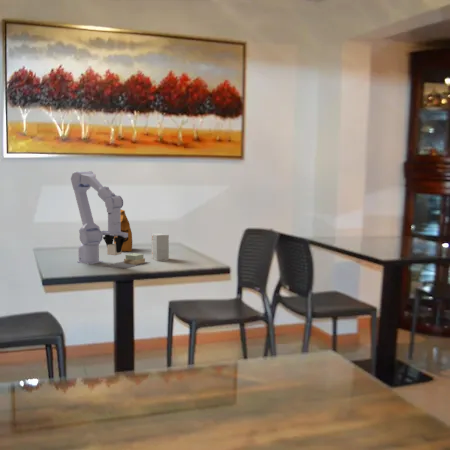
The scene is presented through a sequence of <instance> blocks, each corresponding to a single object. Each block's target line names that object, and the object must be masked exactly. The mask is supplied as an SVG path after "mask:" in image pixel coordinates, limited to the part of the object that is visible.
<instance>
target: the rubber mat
mask: <svg viewBox="0 0 450 450" xmlns="http://www.w3.org/2000/svg"><path fill="white" fill-rule="evenodd" d="M147 264H151V261H150V262H148V261H145V263H141V264H137V265H134V264H126V263H124V260H123V261H120V262H119V261H118V262H116V263H115V262H114V263H110V264H105V265H103V267H106V268H112V269H118V270H119V269H120V270H121V269H122V270H126V269H130V268H134V267H138V266H144V265H147Z"/></svg>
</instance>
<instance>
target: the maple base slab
mask: <svg viewBox="0 0 450 450" xmlns="http://www.w3.org/2000/svg"><path fill="white" fill-rule="evenodd" d="M123 261H124V263H126V264H134V265H137V264H141V263H145V262H146V258H145V257H143V259H139V260H129V259H126V258H124V259H123Z"/></svg>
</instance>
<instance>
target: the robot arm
mask: <svg viewBox="0 0 450 450" xmlns="http://www.w3.org/2000/svg"><path fill="white" fill-rule="evenodd" d="M70 181H71V184H72V188H73V189H72V190H73V191H74V196H75V199H76V200H75V201H76V204H77V207H78V212H79V215H80V219H81V223H82V225H81V227H80V228H79V229H78V232H79V242H80V243H81V244H80V245H79V246H78V261H77V263H80V264H81V263H82V264H90V265H93V264H98V263H102V262H104V261H103V260H100V244H101V242H102V241H104V243H105V244H106V246H107V245H109V244H114V239H115V242H116V251H117V253H119V252H121V253H122V251H121V249H122V245H123V243H124V241H125V239H126V237H128V233H124V232H121V210H122V208H123V206H124V199H123V197H122V195H116V194H115V193H114V192H113V191H112V190H111V189H110V188H109V186H103V184H102V183H100V181H99V180H98V179H97V177H96V174H95V173H94V172H93V171H92V170H89V171H88V170H87V171H77V170H75V171H73V172H72V174H71V176H70ZM91 188H92V189H94V191H96V192H97V196H98V197H99V198H100V199H101V200H102V202H104V204H105V207H106V213H107V230H101V229H100V226H99V225H98V224H96V223H95V221H94V217H93V215H92V214H93V213H92V211H91V206H90V202H89V199H88V194H87V191H89V190H90V189H91ZM114 236H117V237H115V238H114Z"/></svg>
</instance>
